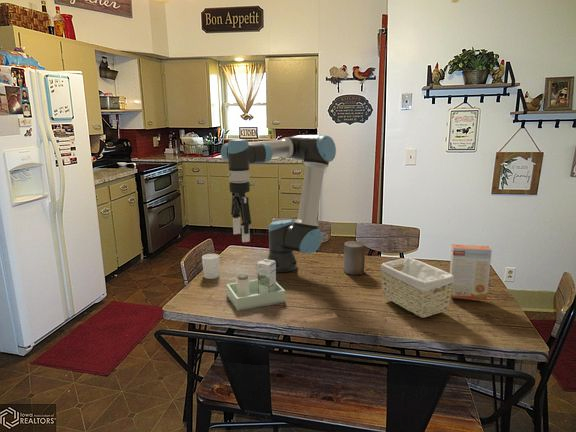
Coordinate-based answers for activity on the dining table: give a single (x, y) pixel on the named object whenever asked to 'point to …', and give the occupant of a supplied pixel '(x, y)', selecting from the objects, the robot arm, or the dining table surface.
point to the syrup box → (266, 276)
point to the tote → (254, 296)
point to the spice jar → (243, 286)
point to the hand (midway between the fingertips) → (241, 237)
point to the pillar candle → (354, 257)
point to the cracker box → (470, 271)
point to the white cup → (210, 265)
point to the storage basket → (417, 286)
